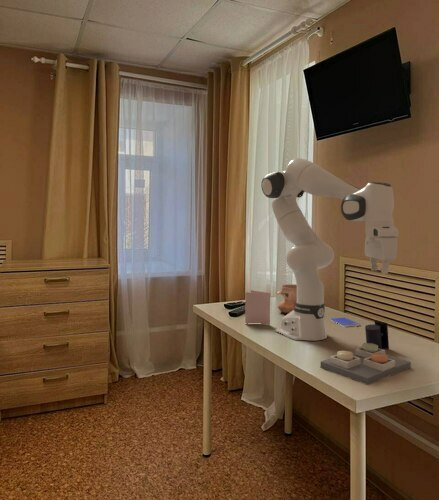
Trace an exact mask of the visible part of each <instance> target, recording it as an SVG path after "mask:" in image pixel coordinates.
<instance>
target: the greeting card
mask: <svg viewBox="0 0 439 500" xmlns="http://www.w3.org/2000/svg"><path fill="white" fill-rule="evenodd" d="M244 293H245V299H244V301H245V308H244V312H245V314H244V316H245V317H244V318H245V320H244V322H245V323H261V324H270V325H271V293H270V292H264V291H258V290H250V292H244ZM245 323H244V324H245Z"/></svg>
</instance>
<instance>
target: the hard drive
mask: <svg viewBox="0 0 439 500" xmlns="http://www.w3.org/2000/svg"><path fill="white" fill-rule="evenodd" d="M330 320H331V322H332V321H334V322H336V323H335V324H337V323H338V324H337V325H339V324H340V325H339V326H341V327H343V328H350V327H360V326H361V324H360V323H359V322H356V321H354V320H351V319H349V318H346V317H333V318H330ZM334 322H333V323H334Z"/></svg>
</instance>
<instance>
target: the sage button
mask: <svg viewBox="0 0 439 500" xmlns="http://www.w3.org/2000/svg"><path fill="white" fill-rule="evenodd" d="M362 347H363V351H367V352H370V353H375V352H378V345H376V344H372V343H365V342H364V343H363V344H362Z"/></svg>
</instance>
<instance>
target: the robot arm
mask: <svg viewBox="0 0 439 500" xmlns="http://www.w3.org/2000/svg"><path fill="white" fill-rule="evenodd" d="M261 190H262V194H264V196H265V197H267V198H269V199H272V202H271V208H272V211H273V214H274V218H275V219H276V222H277V224H278V225H279V227H280V229H281V231H282V233H283V235H284V237H285V238H286V240H287V241H289V242H290V243H292V244H293V245H294V246H293V247H291V248H290V249H289V250H288V251H287V253H286V257H285V258H286V259H285V260H286V264H287V266H288V267H289V269H291V270H292V273H293V275H294V279H295V282H296V283H295V285H297V302H296V303H292V304H294V305H292V306H294V309H293V311H291V312H290V313H289V314H286V315H284V316H283V317H282V319H281V323H280V326H277V327H276V328H275V332H276V333H278V332H279V334H280V333H281V334H280V335H282V334H283V336H285V337H287V338H289V339H292V340H295V341H321V340H322V341H323V340H325V339H327V338H328V335H327V331H326V325H325V316H324V315H325V311H326V309H325V307H326V306H325V304H326V303H324V302H325V285H324V283H323V281H321V279H320V275H319V271H318V270H320V269H324V268H326V267H327V266H330V265H331V264H332V263H333V261H334V259H335V252H334V249H333V248H332V247H331V246H330V245H329V244H327V243H326V242H325V241H324V240H323V239H322V238H320V235H318V233H316V232H315V231H314V230H313V228H312V227H311V226H310V224H309V222H308V221H307V219H306V217H305V215H304V213H303V211H302V210H301V208H300V206H299V204H298V201H297V198H302V197H303V196H304V193H307V194H309V195H312V196H315V197H316V196H317V197H327V198H328V197H329V198H336V199H340V200H341V203H340V213H341V215H342V217H343V218H344V219H345V220H347V221H351V222H365V235H364V236H365V240H364V255H365V257H368V258H369V262H370V269H371V271H373V272H375V271H376V272H377V271H378V267H379V266H378V263H377V261H378V260H381V268H380V273H381V274H383V275H388V274H389V266H390V264H391V261H393V262H394V261H396V259H397V255H398V238H397V237H399V235H400V230H399V229H398V228H397V227H396V226H395V220H394V216H393V215H394V214H393V213H394V209H395V197H394V196H395V195H394V189H393V186H392V185H391V184H390V183H388V182H378V181H370V182H368V183H367V184H366V185H365V186H364V187H362V188H361V189H360V188H358V187H356V186H354V185H352V184H350V183H349V182H347V181H344V180H342V179H341V178H340V177H338V176H336V175H334V174H332V173H331V172H329V171H328V170H326V169H325V168H323V167H321V166H320V165H319V164H316V163H314V162H312V161H311V160H307V159H304V158H301V157H300V158H299V157H296V158H294V159H292V160H290V161H289V162H288V164H287V166H286V169H283V170H278V171H274V172H271V173H267V174H266V175H265V176H264V177H263V178H262V181H261Z"/></svg>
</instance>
